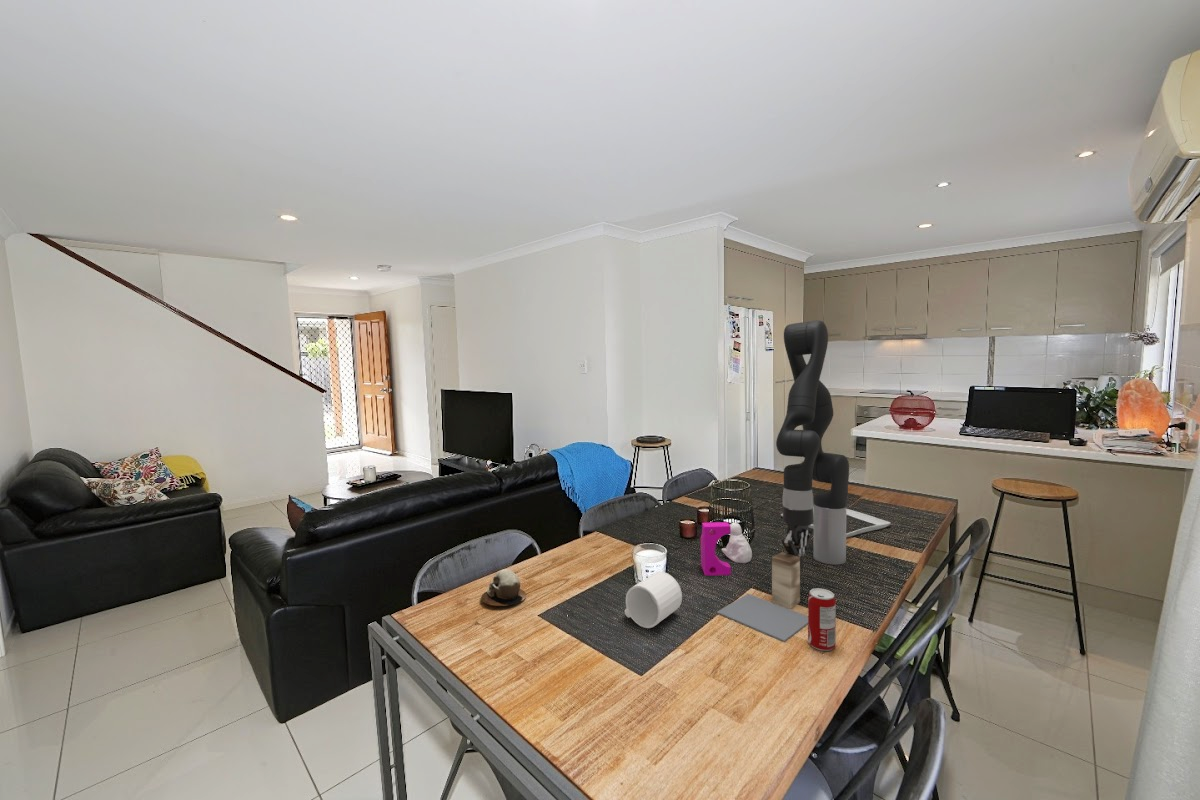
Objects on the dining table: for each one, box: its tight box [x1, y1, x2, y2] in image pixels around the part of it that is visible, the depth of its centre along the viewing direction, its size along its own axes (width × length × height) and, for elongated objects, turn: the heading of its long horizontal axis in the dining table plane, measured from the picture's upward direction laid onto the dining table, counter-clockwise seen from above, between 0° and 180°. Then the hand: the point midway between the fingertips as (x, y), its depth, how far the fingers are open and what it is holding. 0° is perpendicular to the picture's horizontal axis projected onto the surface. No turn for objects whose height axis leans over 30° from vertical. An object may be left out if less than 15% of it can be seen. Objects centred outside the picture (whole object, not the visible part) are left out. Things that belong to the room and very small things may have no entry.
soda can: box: [807, 587, 837, 652], centre depth 109 cm, size 6×6×12 cm
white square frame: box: [780, 506, 891, 539], centre depth 187 cm, size 27×27×4 cm
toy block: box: [700, 521, 732, 576], centre depth 148 cm, size 15×6×8 cm
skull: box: [480, 568, 527, 607], centre depth 136 cm, size 12×10×10 cm
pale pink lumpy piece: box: [721, 522, 753, 564], centre depth 156 cm, size 6×8×12 cm
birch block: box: [771, 551, 801, 610], centre depth 129 cm, size 5×5×12 cm
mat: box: [716, 593, 808, 643], centre depth 122 cm, size 14×18×1 cm
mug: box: [624, 571, 683, 629], centre depth 123 cm, size 13×10×10 cm
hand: (797, 568), depth 133 cm, fingers closed
